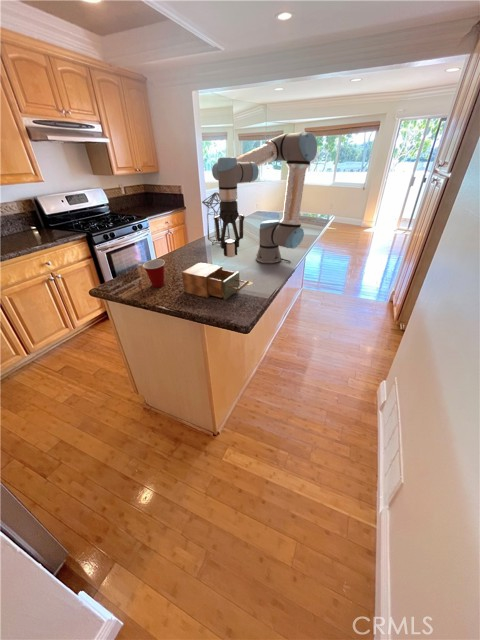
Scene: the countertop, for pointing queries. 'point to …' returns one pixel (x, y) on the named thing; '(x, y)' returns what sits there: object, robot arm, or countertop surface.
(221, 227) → the geometric lantern
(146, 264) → the plastic cup
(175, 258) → the countertop surface
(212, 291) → the drawer
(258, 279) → the countertop surface
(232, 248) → the salt shaker
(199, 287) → the cabinet
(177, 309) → the countertop surface
